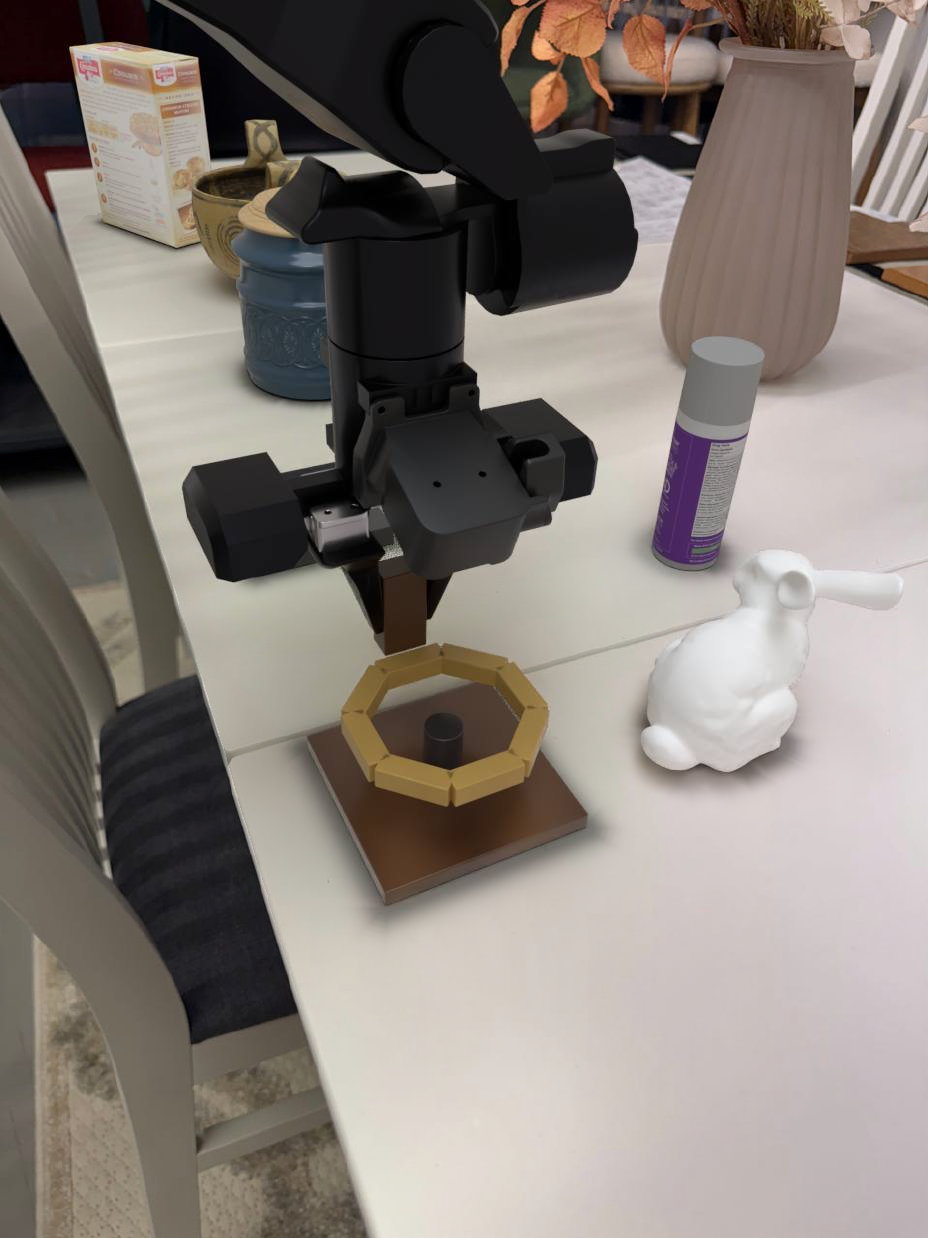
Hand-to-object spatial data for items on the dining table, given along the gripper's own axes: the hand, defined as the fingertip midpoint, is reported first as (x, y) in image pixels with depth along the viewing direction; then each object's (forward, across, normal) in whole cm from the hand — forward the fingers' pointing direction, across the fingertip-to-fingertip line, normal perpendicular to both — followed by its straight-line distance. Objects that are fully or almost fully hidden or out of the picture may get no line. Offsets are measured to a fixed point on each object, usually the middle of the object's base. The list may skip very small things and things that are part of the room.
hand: (399, 622), depth 49 cm
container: (+7, +25, +7) cm, 27 cm away
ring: (+2, 0, -6) cm, 6 cm away
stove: (+7, +2, +21) cm, 22 cm away
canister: (+7, +11, +45) cm, 47 cm away
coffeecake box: (+7, +7, +92) cm, 92 cm away
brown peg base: (+7, 0, -6) cm, 9 cm away
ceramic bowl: (+7, +15, +68) cm, 70 cm away
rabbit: (+7, +17, -8) cm, 20 cm away
